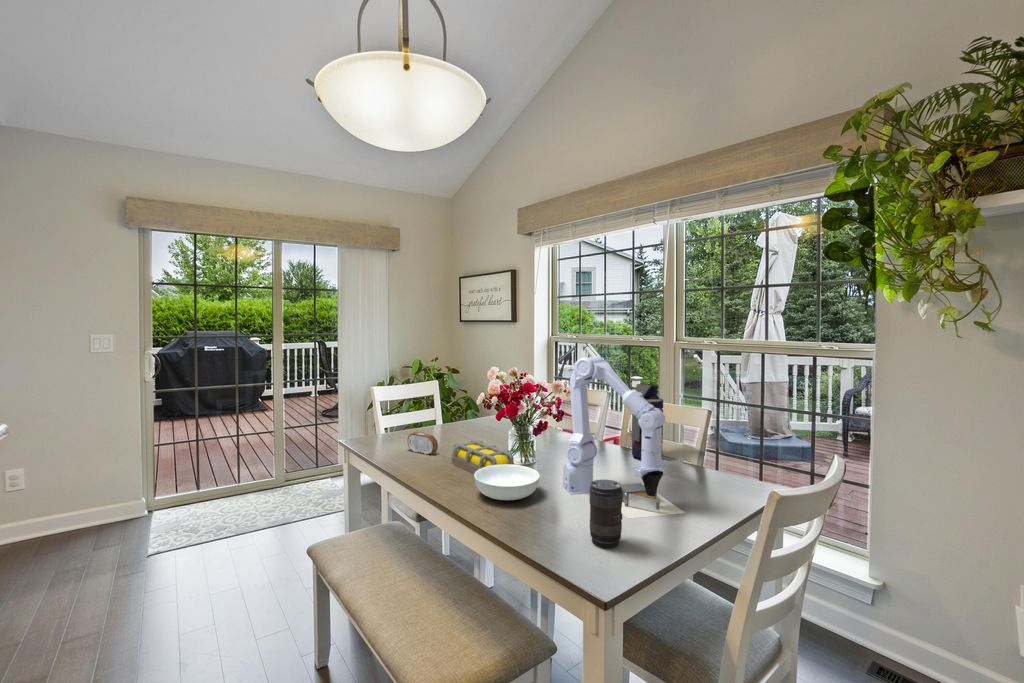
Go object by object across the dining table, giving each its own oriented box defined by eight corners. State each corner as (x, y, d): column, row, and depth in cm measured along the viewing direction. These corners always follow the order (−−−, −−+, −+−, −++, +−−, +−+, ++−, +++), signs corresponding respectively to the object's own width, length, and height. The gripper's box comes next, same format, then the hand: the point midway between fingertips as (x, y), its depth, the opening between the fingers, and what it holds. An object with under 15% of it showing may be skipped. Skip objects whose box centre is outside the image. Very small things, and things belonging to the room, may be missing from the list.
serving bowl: (486, 512, 139) (486, 489, 139) (466, 488, 159) (466, 468, 158) (551, 502, 147) (551, 480, 147) (523, 480, 166) (523, 461, 166)
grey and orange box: (623, 505, 144) (623, 490, 143) (614, 498, 149) (614, 483, 149) (656, 502, 146) (657, 487, 146) (646, 495, 152) (647, 480, 152)
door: (624, 506, 143) (624, 493, 143) (625, 504, 144) (625, 492, 144) (658, 513, 138) (658, 500, 137) (659, 512, 139) (659, 499, 138)
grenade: (643, 452, 202) (644, 381, 200) (668, 458, 192) (669, 384, 191) (622, 458, 193) (623, 384, 191) (647, 465, 184) (648, 387, 182)
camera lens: (617, 534, 125) (617, 478, 124) (625, 549, 117) (626, 489, 116) (586, 535, 125) (586, 478, 124) (592, 550, 117) (593, 489, 116)
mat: (628, 519, 134) (628, 518, 134) (604, 498, 150) (604, 497, 150) (685, 513, 138) (685, 512, 138) (656, 493, 154) (656, 492, 154)
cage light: (475, 436, 196) (522, 452, 173) (475, 456, 196) (522, 474, 173) (444, 442, 187) (489, 460, 164) (444, 462, 187) (489, 483, 164)
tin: (438, 455, 197) (438, 434, 197) (433, 456, 194) (433, 436, 194) (411, 449, 205) (411, 430, 205) (406, 451, 202) (406, 431, 202)
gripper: (650, 457, 134) (650, 505, 134) (676, 448, 144) (675, 492, 144) (628, 452, 139) (628, 498, 139) (654, 443, 149) (654, 486, 149)
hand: (650, 495), depth 142 cm, fingers closed
